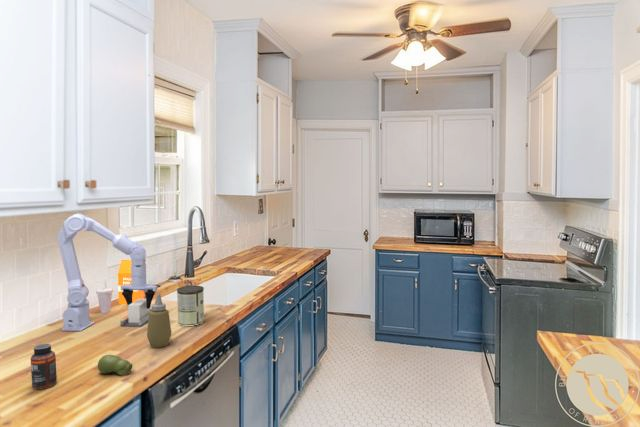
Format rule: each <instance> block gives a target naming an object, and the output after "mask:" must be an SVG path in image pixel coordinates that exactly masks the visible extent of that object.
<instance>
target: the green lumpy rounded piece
mask: <svg viewBox="0 0 640 427" xmlns="http://www.w3.org/2000/svg"><path fill="white" fill-rule="evenodd" d="M97 369H98V371H99V373H102V374H104V375H105V374H106V375H107V374H110V373H116V374H117V375H118V376H120V375H125V374H126V375H128V374H129V373H131V372H132V369H133V363H131V362H130V361H129V360H126V359H123V358H121V357H120V356H118V355H113V354H106V355H103V356H102V357H101V358H99V360H98V362H97ZM128 372H129V373H128ZM127 373H128V374H127ZM126 375H125V376H126Z"/></svg>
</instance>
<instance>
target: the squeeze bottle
mask: <svg viewBox="0 0 640 427" xmlns="http://www.w3.org/2000/svg"><path fill="white" fill-rule="evenodd" d="M150 308H151V309H152V311H150V312H149V317H148V322H147V331H146V337H147V339H148V342H149V345H150V347H152V348H155V347H157V348H162V347H163V346H164V347H166V346H168V345H169V343H170V339H171V336H172V328H171V321H170V312H169V310H168V309H167V307H166V303H164V302H163V300H162V296H161V294H160V293H158V294H156V295H155V300H154V303H153V304H151V307H150Z"/></svg>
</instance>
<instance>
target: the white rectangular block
mask: <svg viewBox="0 0 640 427" xmlns="http://www.w3.org/2000/svg"><path fill="white" fill-rule="evenodd" d="M150 309H151V307H150V308H149V309H147V308H146V298H144V299H141V298H140V299H138V300H136V301H134V302H133V303H131V304H129V305H127V311H128V312H127V313H128V315H127V316H128V319H129V323H139V321H140V320H141V319H142V318H144V317H145V316H147V315H148V314H149V312H150Z"/></svg>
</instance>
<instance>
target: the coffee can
mask: <svg viewBox="0 0 640 427" xmlns="http://www.w3.org/2000/svg"><path fill="white" fill-rule="evenodd" d="M204 290H205V288H204V286H201V285H185V286H180V287H178V288H177V289H176V292H177V293H176V294H177V324H179V325H178V326H180V325H184V326H189V325H196V324H200V323H202V322H203V321H204V322H205V306H204V305H205V304H204V297H205V296H204ZM202 324H203V323H202ZM184 326H183V327H184Z"/></svg>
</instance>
